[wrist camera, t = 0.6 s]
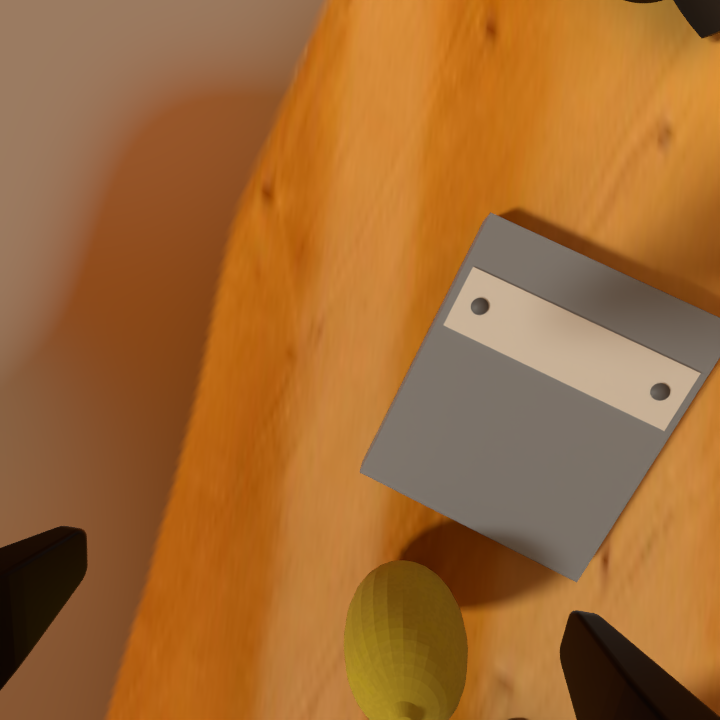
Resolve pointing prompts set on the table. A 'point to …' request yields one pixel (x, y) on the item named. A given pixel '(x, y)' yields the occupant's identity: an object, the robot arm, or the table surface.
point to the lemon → (405, 644)
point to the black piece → (698, 14)
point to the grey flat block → (541, 396)
